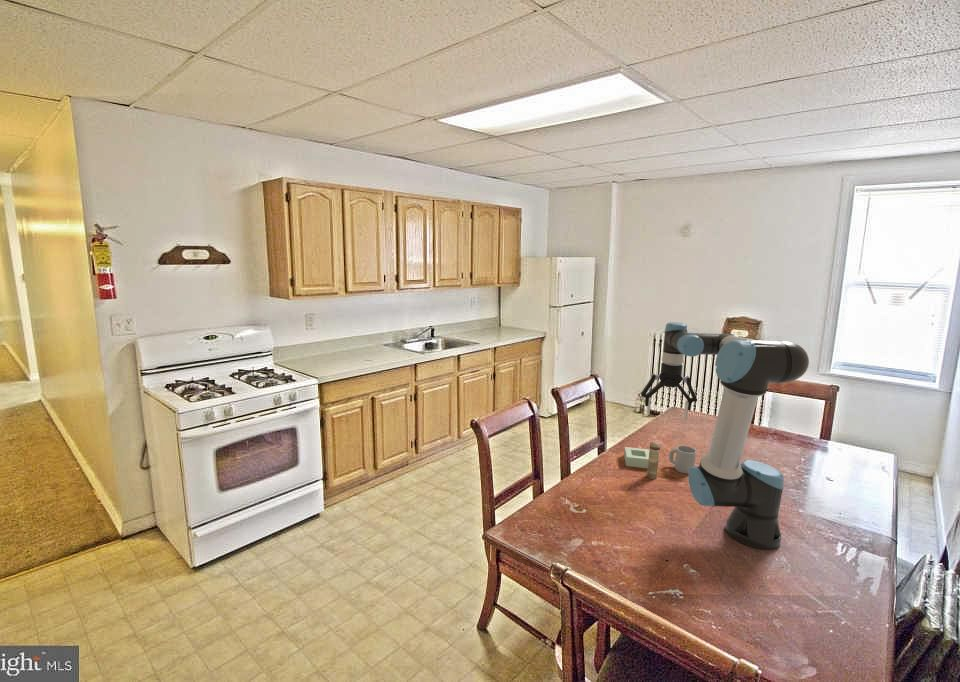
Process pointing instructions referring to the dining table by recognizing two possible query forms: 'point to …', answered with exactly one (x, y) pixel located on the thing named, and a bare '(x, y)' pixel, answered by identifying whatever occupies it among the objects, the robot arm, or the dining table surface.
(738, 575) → the dining table surface
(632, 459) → the square block with hole
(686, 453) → the cup
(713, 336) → the robot arm
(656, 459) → the striped wooden dowel
